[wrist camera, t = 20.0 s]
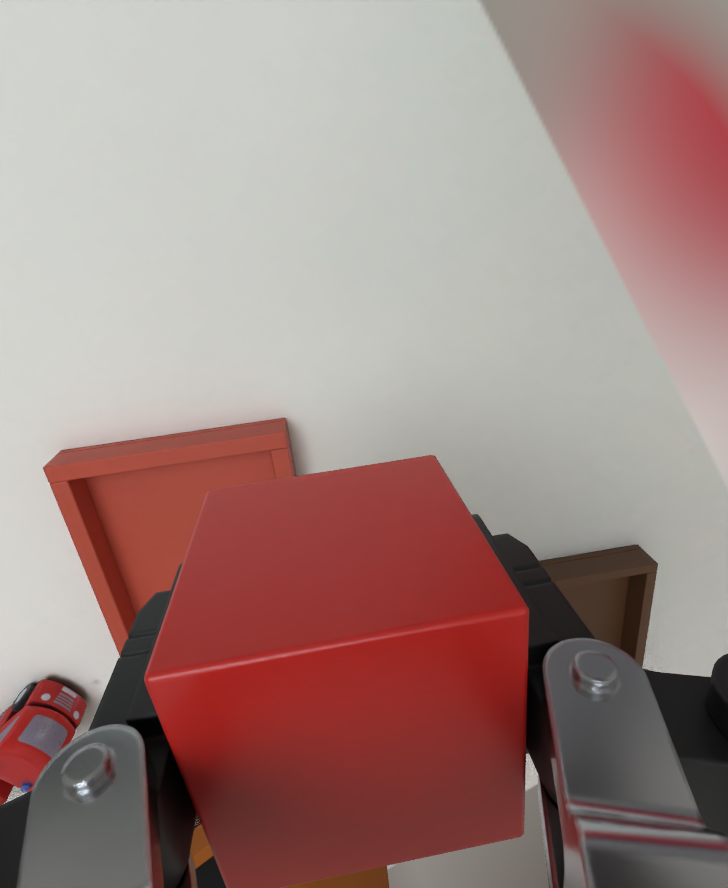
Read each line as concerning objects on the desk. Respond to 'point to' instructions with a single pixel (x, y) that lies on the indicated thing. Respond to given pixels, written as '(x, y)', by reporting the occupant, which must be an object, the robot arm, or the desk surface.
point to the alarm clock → (362, 884)
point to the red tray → (154, 504)
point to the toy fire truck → (36, 732)
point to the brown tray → (610, 593)
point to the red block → (344, 675)
